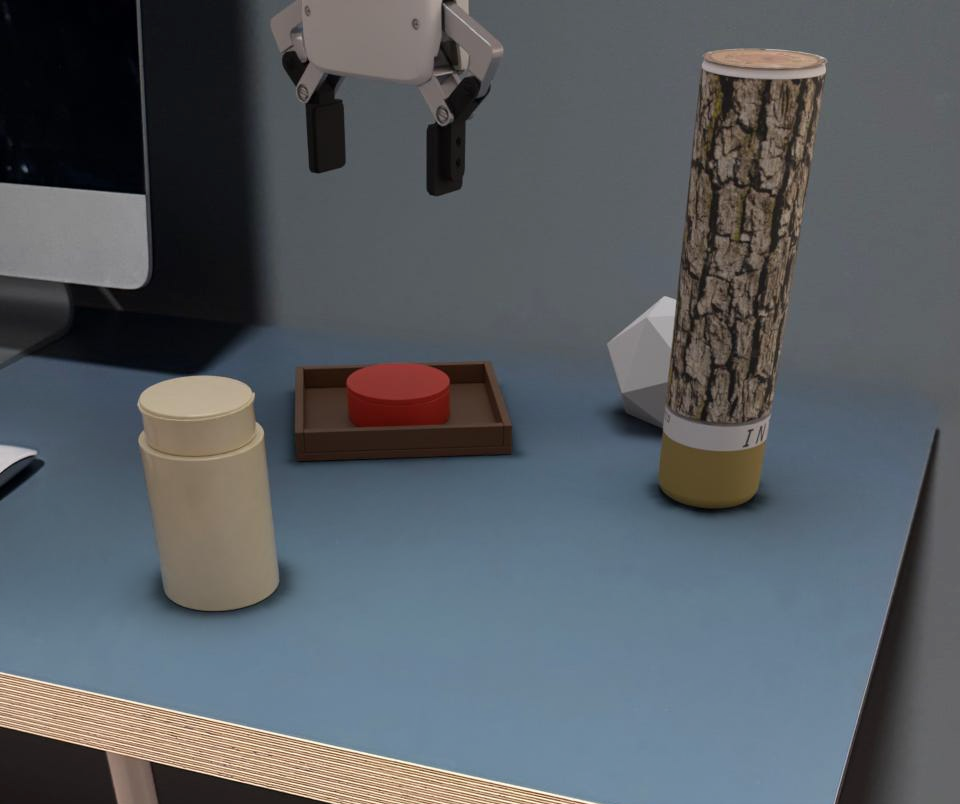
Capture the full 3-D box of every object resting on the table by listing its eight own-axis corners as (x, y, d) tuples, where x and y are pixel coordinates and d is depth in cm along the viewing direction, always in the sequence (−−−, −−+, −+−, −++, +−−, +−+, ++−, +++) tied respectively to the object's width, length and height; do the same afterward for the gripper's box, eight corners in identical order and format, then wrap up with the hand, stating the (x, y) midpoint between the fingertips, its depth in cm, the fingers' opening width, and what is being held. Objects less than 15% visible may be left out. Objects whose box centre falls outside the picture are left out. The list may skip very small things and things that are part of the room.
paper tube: (656, 510, 82) (704, 66, 66) (656, 468, 88) (700, 47, 71) (760, 515, 82) (834, 70, 66) (754, 473, 87) (821, 50, 71)
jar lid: (378, 389, 97) (376, 356, 95) (466, 404, 95) (466, 371, 93) (330, 423, 92) (327, 389, 90) (422, 440, 89) (422, 406, 88)
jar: (158, 614, 71) (124, 420, 64) (168, 558, 77) (137, 374, 69) (278, 608, 72) (258, 416, 65) (280, 554, 77) (261, 370, 70)
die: (749, 433, 94) (738, 298, 94) (714, 408, 86) (701, 259, 86) (643, 457, 98) (631, 327, 98) (599, 434, 90) (587, 293, 90)
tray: (297, 461, 88) (294, 432, 87) (297, 393, 98) (295, 366, 97) (511, 454, 89) (512, 425, 88) (490, 387, 99) (490, 360, 98)
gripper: (540, -144, 71) (525, 191, 82) (304, -156, 78) (319, 153, 89) (466, -143, 66) (460, 212, 77) (221, -157, 73) (248, 171, 84)
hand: (384, 180), depth 83 cm, fingers open, 9 cm apart
